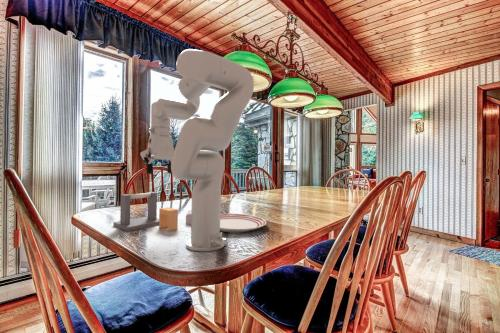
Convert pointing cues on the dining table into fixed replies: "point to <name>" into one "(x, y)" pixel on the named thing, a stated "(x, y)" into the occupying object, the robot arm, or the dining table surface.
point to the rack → (137, 223)
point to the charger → (188, 217)
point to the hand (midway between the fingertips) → (160, 173)
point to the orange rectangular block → (168, 218)
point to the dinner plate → (240, 222)
